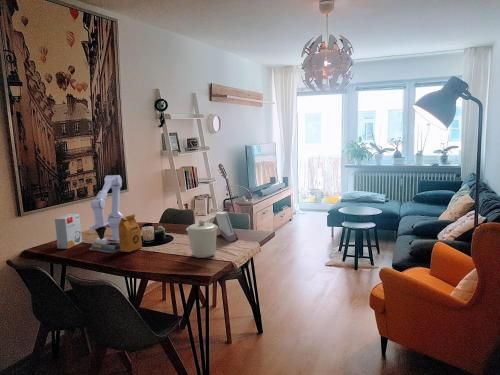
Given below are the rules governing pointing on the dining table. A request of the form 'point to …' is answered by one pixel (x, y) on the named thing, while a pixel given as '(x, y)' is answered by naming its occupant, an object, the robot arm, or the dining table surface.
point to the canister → (202, 239)
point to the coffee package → (129, 234)
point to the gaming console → (225, 226)
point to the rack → (106, 247)
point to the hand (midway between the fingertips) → (101, 238)
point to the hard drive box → (68, 231)
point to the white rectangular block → (101, 241)
